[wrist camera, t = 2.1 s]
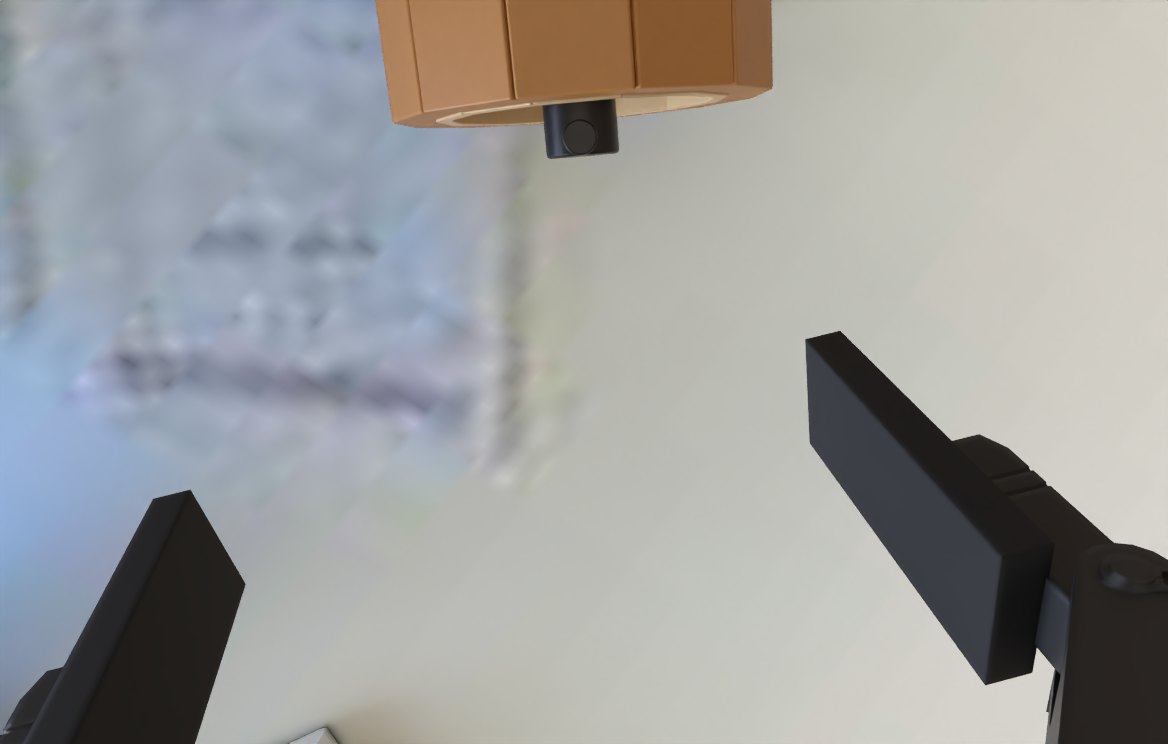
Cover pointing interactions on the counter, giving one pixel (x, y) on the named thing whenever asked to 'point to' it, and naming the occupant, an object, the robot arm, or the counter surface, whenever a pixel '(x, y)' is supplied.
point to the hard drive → (316, 738)
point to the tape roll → (568, 56)
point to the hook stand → (581, 128)
